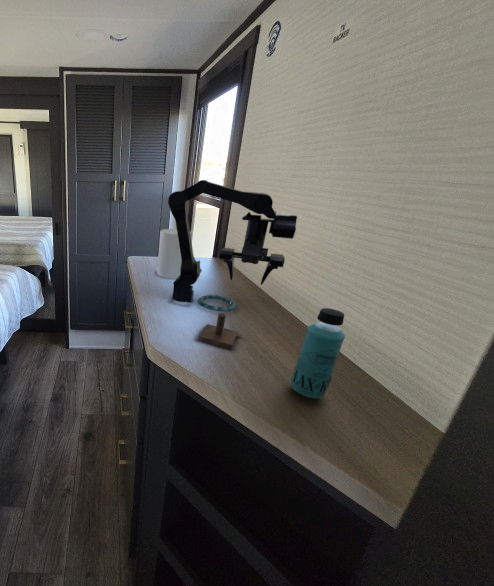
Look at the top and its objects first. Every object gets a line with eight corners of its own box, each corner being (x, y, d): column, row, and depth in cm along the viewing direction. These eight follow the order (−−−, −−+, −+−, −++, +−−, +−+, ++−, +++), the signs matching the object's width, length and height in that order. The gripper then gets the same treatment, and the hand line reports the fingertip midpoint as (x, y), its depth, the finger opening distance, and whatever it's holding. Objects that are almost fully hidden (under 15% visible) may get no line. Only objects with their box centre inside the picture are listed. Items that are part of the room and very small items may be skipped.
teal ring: (193, 308, 110) (194, 302, 109) (203, 296, 120) (204, 291, 120) (231, 316, 104) (232, 311, 103) (238, 304, 114) (239, 299, 113)
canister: (151, 271, 150) (154, 229, 143) (174, 268, 155) (179, 228, 148) (167, 280, 138) (171, 235, 131) (192, 276, 144) (197, 233, 136)
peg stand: (198, 340, 89) (201, 316, 86) (206, 328, 96) (209, 305, 93) (231, 349, 84) (235, 324, 82) (237, 336, 92) (241, 312, 89)
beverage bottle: (282, 385, 70) (304, 304, 63) (309, 384, 71) (335, 303, 64) (301, 406, 64) (328, 318, 57) (331, 404, 65) (362, 317, 58)
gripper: (220, 236, 95) (212, 284, 101) (290, 243, 87) (277, 295, 93) (225, 230, 104) (218, 275, 110) (288, 237, 96) (277, 284, 102)
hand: (246, 282), depth 104 cm, fingers open, 9 cm apart
